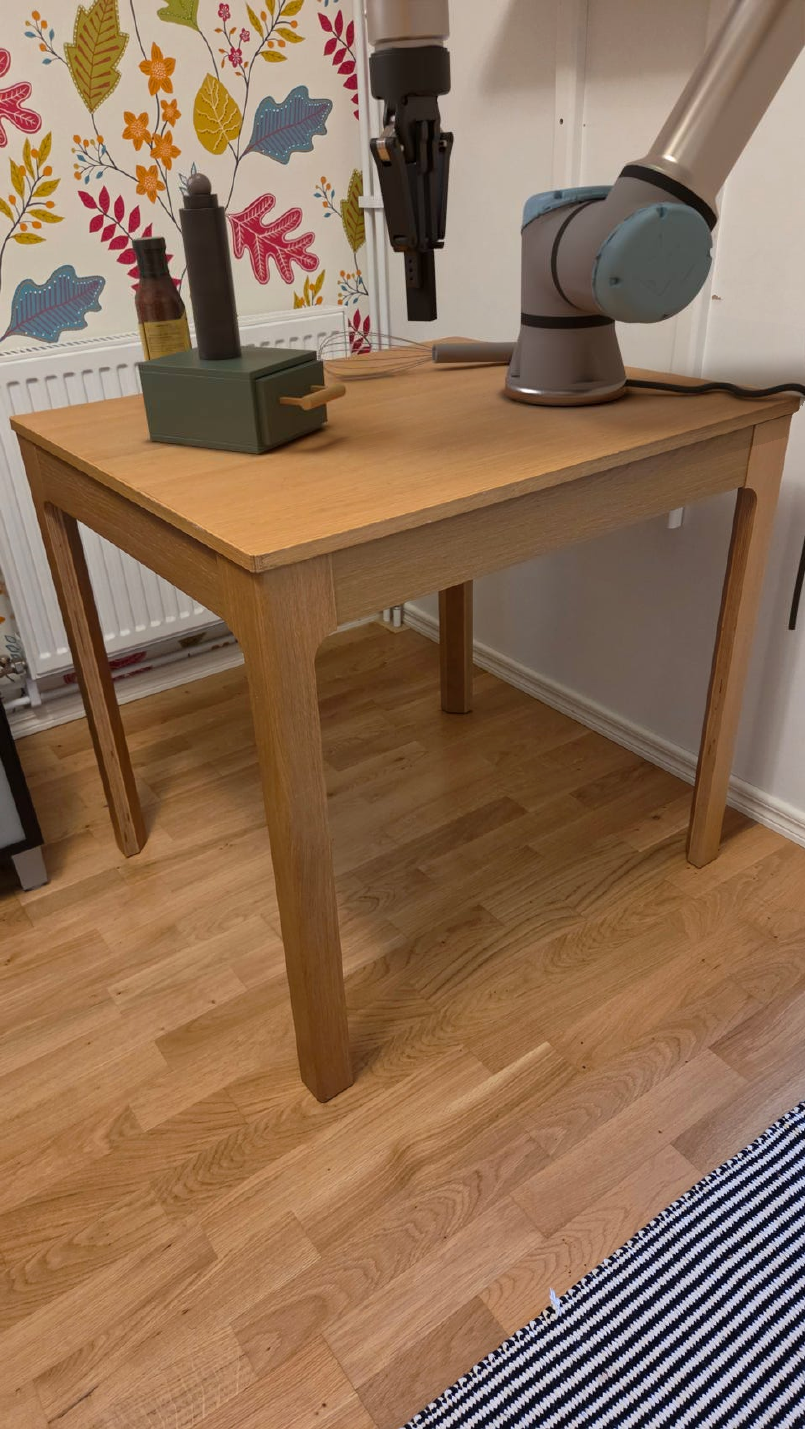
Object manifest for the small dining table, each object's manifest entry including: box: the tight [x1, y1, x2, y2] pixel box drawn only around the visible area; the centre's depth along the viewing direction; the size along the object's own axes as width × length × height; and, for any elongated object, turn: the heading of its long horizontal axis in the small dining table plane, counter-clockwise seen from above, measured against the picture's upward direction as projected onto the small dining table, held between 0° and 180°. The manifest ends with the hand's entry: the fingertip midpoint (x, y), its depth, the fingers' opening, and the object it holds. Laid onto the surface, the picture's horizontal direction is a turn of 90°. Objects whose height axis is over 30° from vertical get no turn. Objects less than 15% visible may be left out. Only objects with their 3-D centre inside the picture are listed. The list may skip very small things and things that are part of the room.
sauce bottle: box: [131, 235, 193, 362], centre depth 126 cm, size 7×6×20 cm
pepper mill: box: [178, 172, 242, 360], centre depth 107 cm, size 5×5×18 cm
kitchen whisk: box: [317, 330, 517, 381], centre depth 141 cm, size 6×34×6 cm, turn 105°
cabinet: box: [137, 345, 323, 455], centre depth 113 cm, size 16×13×9 cm
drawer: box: [254, 359, 347, 445], centre depth 112 cm, size 19×11×7 cm, turn 60°
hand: (422, 320), depth 103 cm, fingers closed
